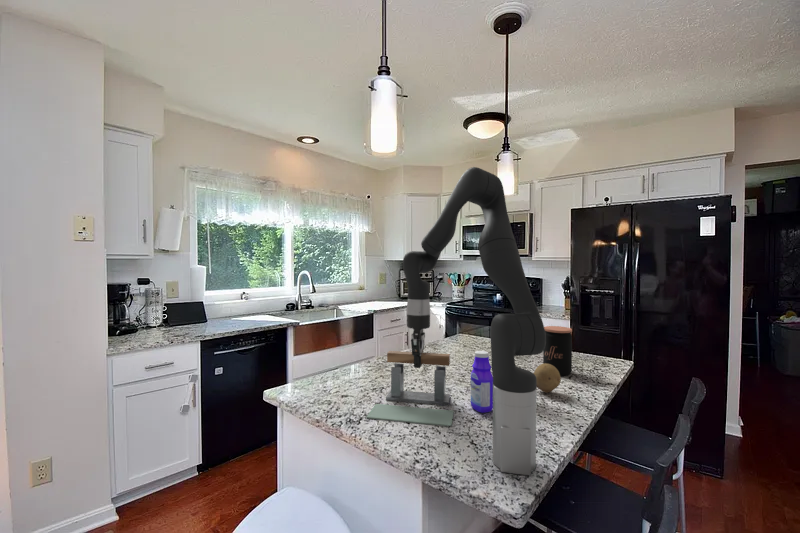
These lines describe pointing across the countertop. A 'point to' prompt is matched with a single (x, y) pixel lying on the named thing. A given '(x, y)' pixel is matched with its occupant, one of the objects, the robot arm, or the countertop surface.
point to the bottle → (481, 383)
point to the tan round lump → (547, 377)
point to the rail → (425, 358)
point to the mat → (411, 414)
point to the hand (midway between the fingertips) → (418, 365)
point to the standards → (418, 397)
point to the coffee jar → (558, 349)
